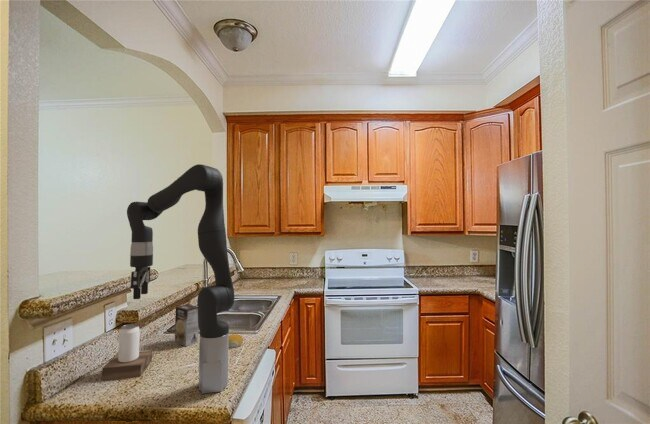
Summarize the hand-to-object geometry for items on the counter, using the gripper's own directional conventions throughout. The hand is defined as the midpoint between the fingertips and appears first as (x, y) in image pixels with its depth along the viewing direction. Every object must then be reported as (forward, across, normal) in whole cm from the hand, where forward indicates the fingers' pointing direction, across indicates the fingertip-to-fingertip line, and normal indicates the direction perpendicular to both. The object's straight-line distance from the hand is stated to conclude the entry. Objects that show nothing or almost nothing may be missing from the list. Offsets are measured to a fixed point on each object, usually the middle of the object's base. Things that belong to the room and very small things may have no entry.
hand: (140, 296), depth 118 cm
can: (+22, -3, +3) cm, 23 cm away
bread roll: (+27, +14, -34) cm, 45 cm away
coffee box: (+26, +21, -13) cm, 36 cm away
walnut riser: (+26, -3, +3) cm, 26 cm away
